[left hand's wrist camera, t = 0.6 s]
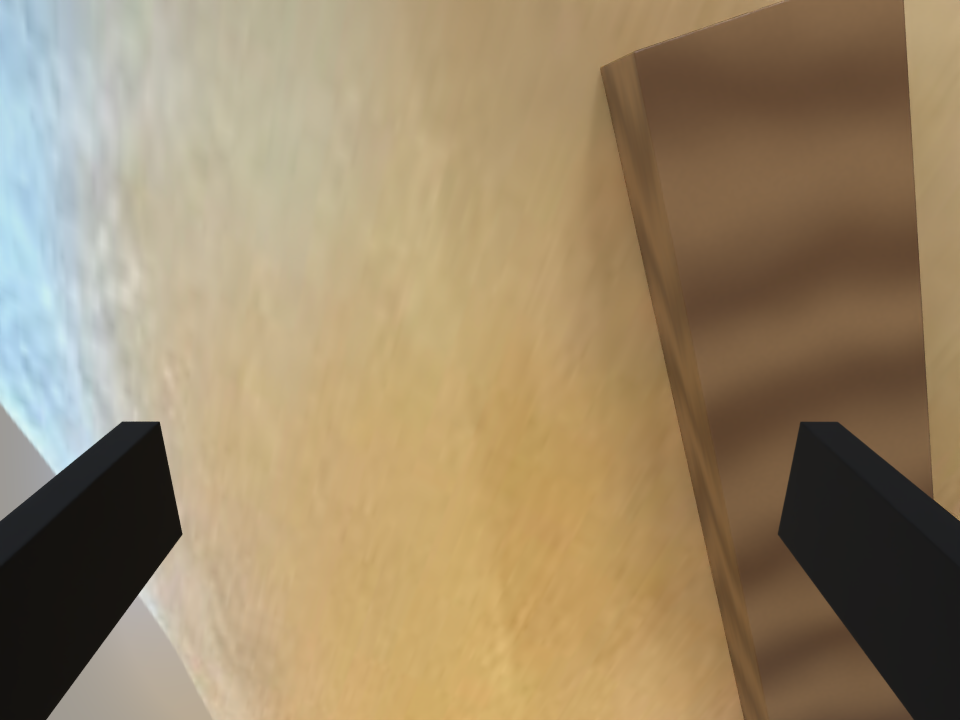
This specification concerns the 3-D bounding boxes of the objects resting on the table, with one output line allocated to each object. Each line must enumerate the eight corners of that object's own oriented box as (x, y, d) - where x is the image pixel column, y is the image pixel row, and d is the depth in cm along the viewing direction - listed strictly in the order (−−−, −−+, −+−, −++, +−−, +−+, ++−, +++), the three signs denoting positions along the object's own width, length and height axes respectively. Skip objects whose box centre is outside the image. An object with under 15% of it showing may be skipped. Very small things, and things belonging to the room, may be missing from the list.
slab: (600, 67, 31) (633, 51, 24) (806, -3, 30) (902, -40, 23) (752, 756, 49) (796, 859, 42) (885, 728, 47) (953, 829, 41)
